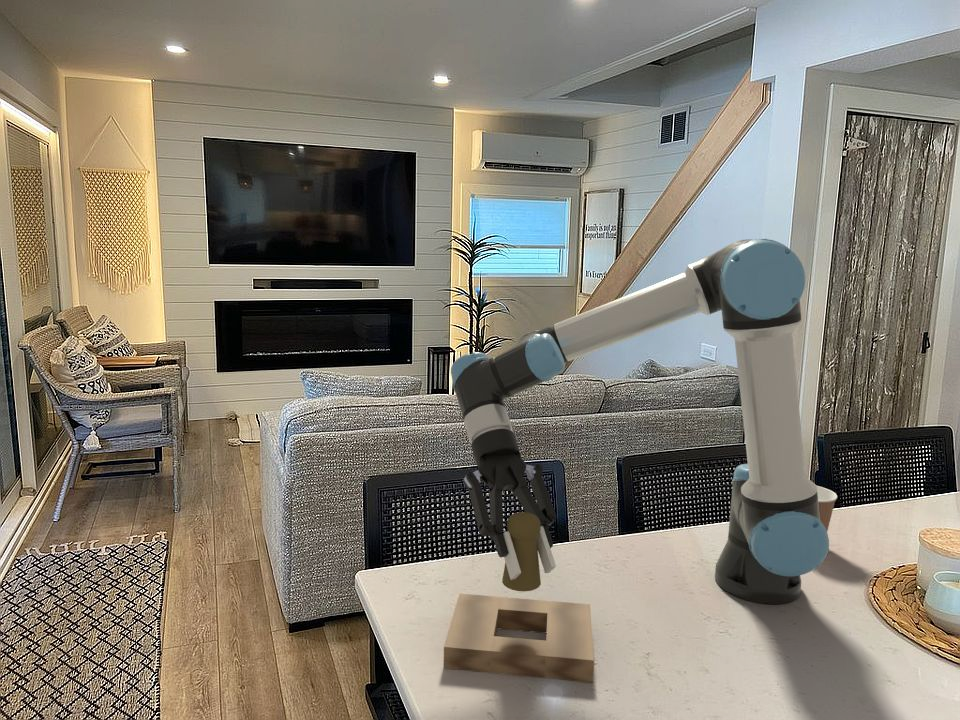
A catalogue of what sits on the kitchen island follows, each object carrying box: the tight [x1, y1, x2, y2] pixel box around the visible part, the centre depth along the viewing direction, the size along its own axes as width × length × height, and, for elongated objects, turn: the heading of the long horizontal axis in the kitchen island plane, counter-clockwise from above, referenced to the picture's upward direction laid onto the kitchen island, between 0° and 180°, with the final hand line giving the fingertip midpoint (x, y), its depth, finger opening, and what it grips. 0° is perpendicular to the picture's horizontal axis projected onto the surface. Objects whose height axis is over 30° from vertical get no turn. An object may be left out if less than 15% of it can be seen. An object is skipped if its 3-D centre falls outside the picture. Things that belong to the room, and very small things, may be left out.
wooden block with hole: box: [443, 593, 595, 683], centre depth 112 cm, size 22×16×4 cm
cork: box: [501, 511, 542, 592], centre depth 110 cm, size 6×6×11 cm
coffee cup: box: [816, 485, 838, 533], centre depth 151 cm, size 10×10×12 cm
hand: (533, 572), depth 107 cm, fingers closed on cork, 5 cm apart
